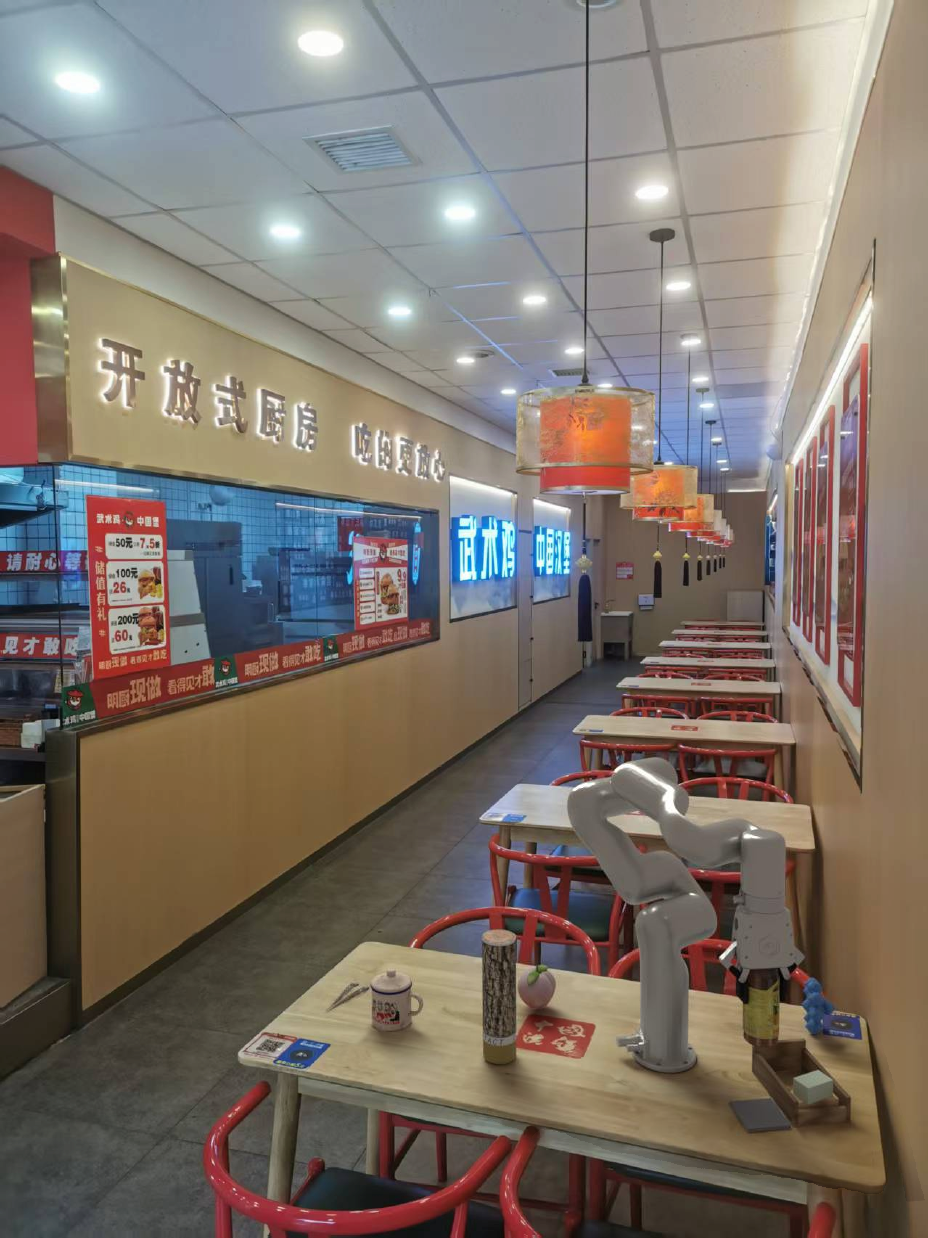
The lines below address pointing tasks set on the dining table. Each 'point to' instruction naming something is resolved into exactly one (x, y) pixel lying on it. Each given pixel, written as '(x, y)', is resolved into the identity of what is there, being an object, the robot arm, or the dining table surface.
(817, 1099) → the offcut top
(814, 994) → the grapes
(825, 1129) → the dining table surface
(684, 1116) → the dining table surface
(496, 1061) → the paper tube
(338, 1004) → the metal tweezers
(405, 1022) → the teacup with lid
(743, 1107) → the mat
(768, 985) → the sauce bottle
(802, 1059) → the wooden tray
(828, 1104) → the plate
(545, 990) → the decorative fruit
